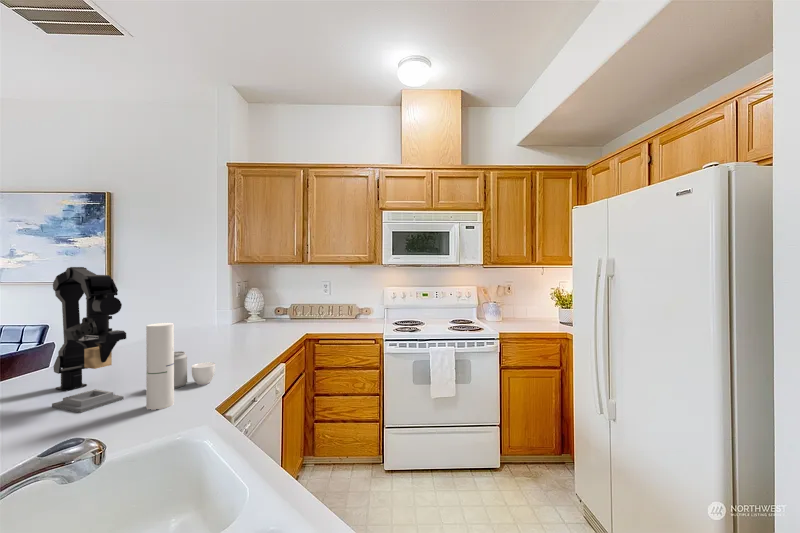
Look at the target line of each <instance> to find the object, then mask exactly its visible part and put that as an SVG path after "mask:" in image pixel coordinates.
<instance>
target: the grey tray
mask: <svg viewBox="0 0 800 533" xmlns="http://www.w3.org/2000/svg"><path fill="white" fill-rule="evenodd" d="M122 399H123V400H124V396H123V395H118V394H114V391H108V390H103V389H90V390H88V391H84V392H80V393H77V394H73V395H69V396H66V397H63V398H62V400H60V401H56V402H53V403H51V407H52V408H56V409H61V410H66V411H70V412H76V413H80V414H81V413H83V412H87V411H90V410H94V409H97V408H100V407H103V406H106V405H109V404H114V403H117V402H119V400H120V401H123V400H122ZM116 401H117V402H116Z"/></svg>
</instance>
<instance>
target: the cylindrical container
mask: <svg viewBox="0 0 800 533" xmlns="http://www.w3.org/2000/svg"><path fill="white" fill-rule="evenodd" d="M145 326H146V328H145V330H146V334H145V335H146V337H145V338H146V342H145V343H146V346H145V347H146V348H145V349H146V353H145V354H146V355H145V356H146V364H145V366H146V380H145V381H146V386H145V389H146V397H145V398H146V410H148V409H151V410H150V411H157V410H156V409H159V410H163V408H164V409H167V407H168V408H169V407H172V406H174V404H175V388H174V352H175V323H173V322H159V323H150V324H146V325H145Z"/></svg>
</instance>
